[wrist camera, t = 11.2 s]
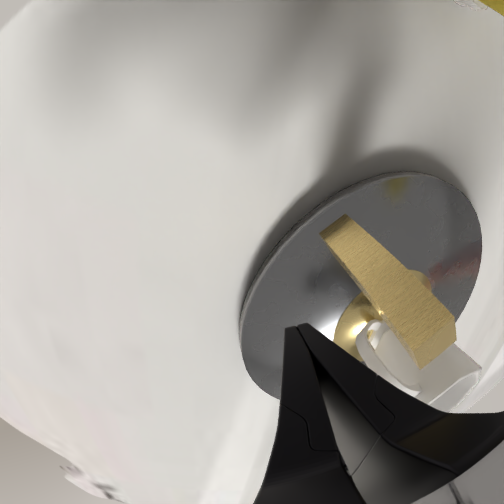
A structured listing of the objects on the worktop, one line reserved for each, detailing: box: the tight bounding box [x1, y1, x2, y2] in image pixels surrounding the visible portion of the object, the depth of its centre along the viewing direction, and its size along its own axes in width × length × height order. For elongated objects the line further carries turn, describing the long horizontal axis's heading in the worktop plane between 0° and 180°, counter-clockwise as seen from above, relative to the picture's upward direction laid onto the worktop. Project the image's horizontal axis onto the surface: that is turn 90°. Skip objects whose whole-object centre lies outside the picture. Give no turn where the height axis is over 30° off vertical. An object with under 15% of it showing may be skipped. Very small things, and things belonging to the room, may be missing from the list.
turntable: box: [239, 172, 482, 400], centre depth 17 cm, size 22×22×10 cm
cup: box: [355, 319, 482, 413], centre depth 17 cm, size 7×10×8 cm
